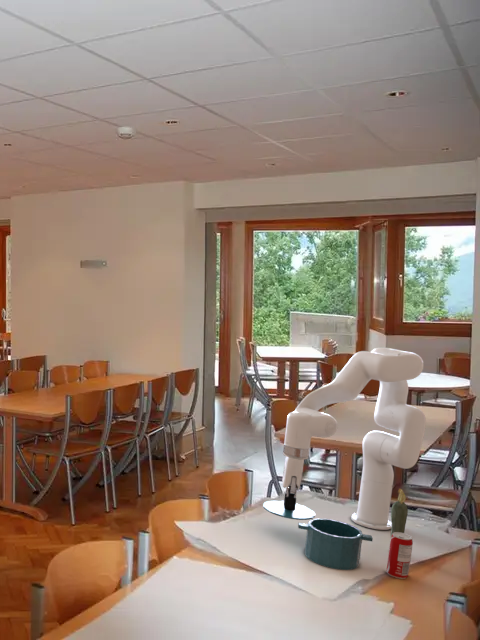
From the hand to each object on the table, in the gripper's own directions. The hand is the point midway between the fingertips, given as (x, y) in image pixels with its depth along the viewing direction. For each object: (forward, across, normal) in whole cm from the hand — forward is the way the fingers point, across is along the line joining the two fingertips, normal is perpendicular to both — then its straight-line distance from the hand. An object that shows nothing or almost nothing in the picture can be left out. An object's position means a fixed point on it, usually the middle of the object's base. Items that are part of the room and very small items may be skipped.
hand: (289, 507), depth 236 cm
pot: (+9, +14, +12) cm, 21 cm away
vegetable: (+9, -1, +31) cm, 32 cm away
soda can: (+9, +17, +29) cm, 35 cm away
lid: (+1, 0, 0) cm, 1 cm away
